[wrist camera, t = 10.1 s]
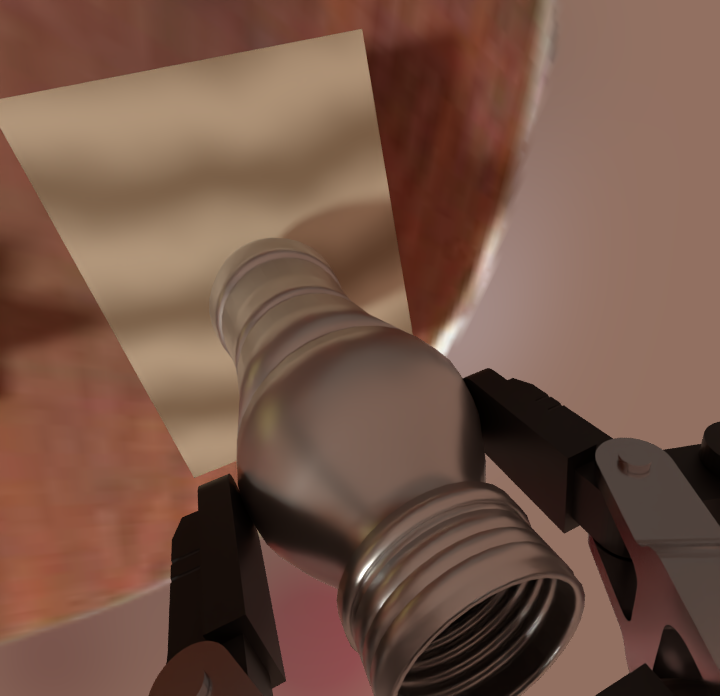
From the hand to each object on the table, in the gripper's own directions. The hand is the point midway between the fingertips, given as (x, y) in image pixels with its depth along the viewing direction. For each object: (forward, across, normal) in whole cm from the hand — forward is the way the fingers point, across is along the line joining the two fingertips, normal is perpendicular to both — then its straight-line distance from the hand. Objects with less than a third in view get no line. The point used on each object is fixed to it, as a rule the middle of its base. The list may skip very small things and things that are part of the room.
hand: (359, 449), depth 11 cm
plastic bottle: (+15, 0, 0) cm, 15 cm away
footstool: (+24, 0, 0) cm, 24 cm away
